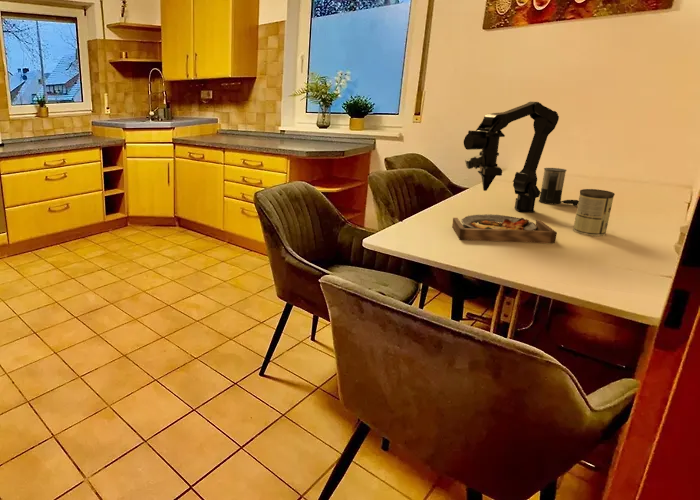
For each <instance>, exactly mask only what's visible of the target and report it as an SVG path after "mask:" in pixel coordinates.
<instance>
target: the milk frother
mask: <svg viewBox="0 0 700 500" xmlns="http://www.w3.org/2000/svg"><path fill="white" fill-rule="evenodd" d="M543 169H544V172H543V176H542V183H541V188H540V192H541V193H540V196H539V199H538V202H539V203H543V204H547V205H548V204H549V205H559V204H562V203H563V204H564V205H565V204H567V205H572V206H573V207H576V206H577V207H578V201H579V199H565V200H562V195H563V194H562V193H563V188H564V182H565V178H566V172H567V169H565V168H559V167H558V168H557V167H544V168H543Z"/></svg>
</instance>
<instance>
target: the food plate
mask: <svg viewBox="0 0 700 500" xmlns="http://www.w3.org/2000/svg"><path fill="white" fill-rule="evenodd" d="M460 222H461V224H462V225H465V226H467V227H468V228H475V229H504V230H534V231H535V229H537V226H536V222H535V223H534V222H532V221H530V219H525V218H523V217H516V216H508V215H503V214H502V215H501V214H489V213H487V214H473V215H472V214H471V215H467V216H465V217H463V218H461V221H460ZM498 222H499V223H498ZM500 222H501V223H500Z"/></svg>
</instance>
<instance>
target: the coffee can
mask: <svg viewBox="0 0 700 500" xmlns="http://www.w3.org/2000/svg"><path fill="white" fill-rule="evenodd" d="M614 197H615V192H613V191H610V190H605V189H598V188H597V189H595V188H583V189H580V191H579V197H578V205H577V208H576V213H575V218H574V219H575V220H574V224H573V229H572V231H573V232H575V233H577V234H580V235H584V236H588V237H589V236H590V237H603V236H606V235H607V229H608V225H609V220H610V216H611V215H610V214H611V211H612V206H613V201H614Z"/></svg>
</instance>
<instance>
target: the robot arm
mask: <svg viewBox="0 0 700 500" xmlns="http://www.w3.org/2000/svg"><path fill="white" fill-rule="evenodd" d="M527 116H530V118H531V119H532V120H533V124H532V125H533V126H532V127H533V130H534V134H533V137H532V140H531V144H530V147H529V150H528V153H527V155H526V158H525V161H524V165H523V167H522V169H521V170H520V171H516V172H515V174H514V178H513V180H512V182H513V184H512V187H513V188H514V194H515V195H517V197H516V198H515V201H514V202H515V204H514V209H515V210H516V211H518V212H520V213H536V210H535V206H536V198H540V194H541V189H539V188H538V186H537V184H538V176H537V169H538V166H539V163H540V160H541V159H542V154H543V152H544V148H545V145H546V143H547V138H548V136H549V135H550V134H551V133H552V132H553V131H554V130H555V128H556V126H557V124H558V122H559V119H560V116H559V114H558V112H557V111H555V110H552V109H551V108H549V107H547V106H545V105H543V104H542V103H541V102H539V101H529V102H526V103H525V104H522V105H519V106H516V107H514V108H511V109H509V110H506V111H502V112H493V113H487V114H485V115H484V116H483V119H482V121H481V122H480V124H479V125H478V126H477V128H476V130H468V132H467V134H466V135H465V137H464V139H463V146H464V148H465V150H468V151H473V150H480V151H479V155H475V156H471V157H468V158H466V159H465V160H464V162H465V166H466V169H468V170H472V169H473V168H474V169H475V170H477V169H479V170H477V173H478V174H479V175H480V176H481V182H482V183H481V184H482V190H483V191H485V192H486V191H488V190H489V187H490V186H491V184H492V183H493V181H494V180H495V178H496V176H499V177H501V176H502V175H503V170H502V168H501V167H500V166H498V163H497V160H498V159H497V158H498V157H499V156H500V152H498V151H499V144H500V138H505V136H506V135H505V134H504V133H503V132H502V130H503V129H505V128H506V127H507V126H508V125H509V124H510V123H512V122H515V121H518V120H520V119H523V118H525V117H527Z"/></svg>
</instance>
